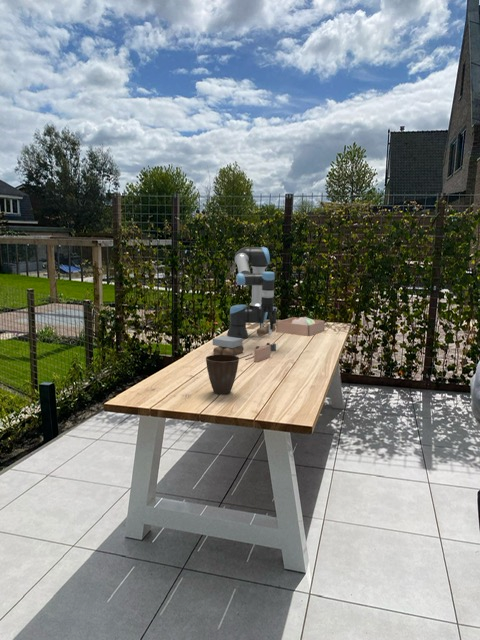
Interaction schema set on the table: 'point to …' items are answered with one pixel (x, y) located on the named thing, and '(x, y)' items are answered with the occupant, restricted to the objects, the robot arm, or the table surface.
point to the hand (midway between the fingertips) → (266, 333)
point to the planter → (299, 327)
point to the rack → (273, 347)
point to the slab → (227, 341)
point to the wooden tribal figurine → (303, 321)
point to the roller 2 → (233, 350)
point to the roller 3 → (265, 330)
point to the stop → (262, 353)
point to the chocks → (241, 357)
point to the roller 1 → (218, 350)
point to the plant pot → (222, 372)
